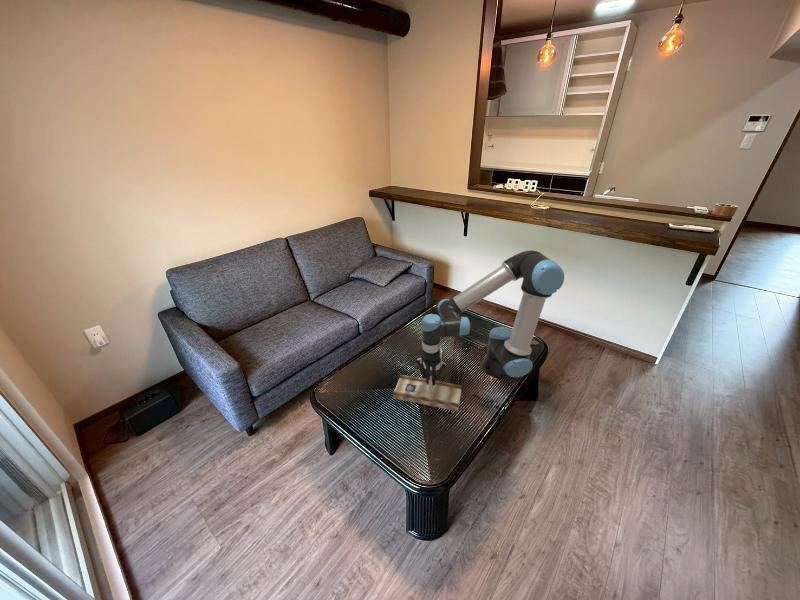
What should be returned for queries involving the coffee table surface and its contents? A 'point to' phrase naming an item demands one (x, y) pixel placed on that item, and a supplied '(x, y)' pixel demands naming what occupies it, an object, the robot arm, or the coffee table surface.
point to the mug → (438, 364)
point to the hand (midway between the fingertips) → (431, 389)
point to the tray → (428, 393)
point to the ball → (409, 388)
